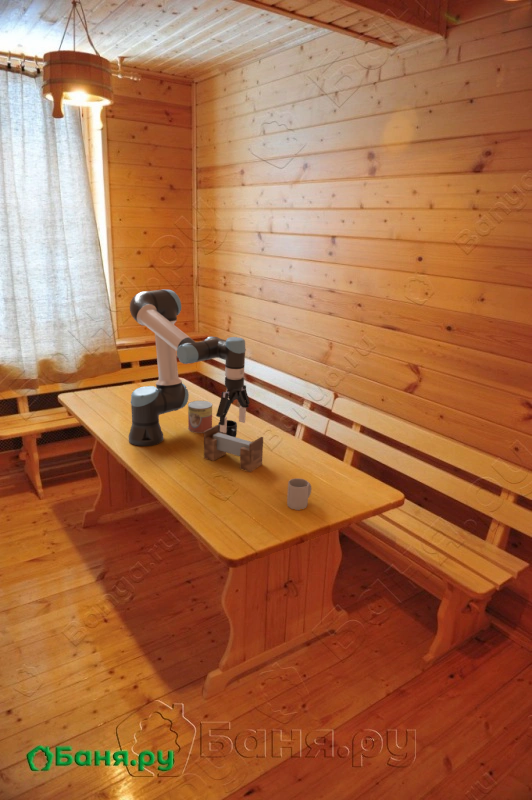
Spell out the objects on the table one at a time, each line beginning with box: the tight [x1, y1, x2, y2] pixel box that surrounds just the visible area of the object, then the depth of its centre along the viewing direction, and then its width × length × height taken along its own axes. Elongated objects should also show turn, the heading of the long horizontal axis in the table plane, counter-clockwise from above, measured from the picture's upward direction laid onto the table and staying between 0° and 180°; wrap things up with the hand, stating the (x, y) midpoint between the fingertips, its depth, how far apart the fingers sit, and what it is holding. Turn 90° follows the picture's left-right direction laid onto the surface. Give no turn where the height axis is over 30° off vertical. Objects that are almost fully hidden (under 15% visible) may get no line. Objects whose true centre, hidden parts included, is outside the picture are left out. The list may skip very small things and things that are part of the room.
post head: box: [203, 424, 227, 462], centre depth 239 cm, size 5×9×12 cm, turn 149°
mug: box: [217, 419, 238, 438], centre depth 251 cm, size 8×12×10 cm
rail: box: [213, 433, 252, 457], centre depth 234 cm, size 19×4×6 cm, turn 59°
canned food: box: [187, 400, 213, 434], centre depth 268 cm, size 11×11×12 cm
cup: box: [286, 477, 312, 511], centre depth 203 cm, size 7×10×9 cm
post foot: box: [239, 436, 264, 473], centre depth 230 cm, size 5×9×12 cm, turn 149°
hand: (232, 426), depth 232 cm, fingers open, 13 cm apart
